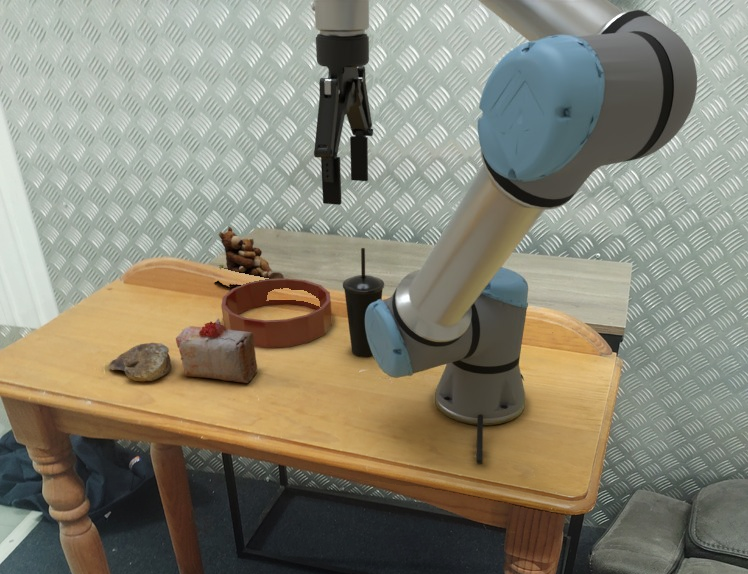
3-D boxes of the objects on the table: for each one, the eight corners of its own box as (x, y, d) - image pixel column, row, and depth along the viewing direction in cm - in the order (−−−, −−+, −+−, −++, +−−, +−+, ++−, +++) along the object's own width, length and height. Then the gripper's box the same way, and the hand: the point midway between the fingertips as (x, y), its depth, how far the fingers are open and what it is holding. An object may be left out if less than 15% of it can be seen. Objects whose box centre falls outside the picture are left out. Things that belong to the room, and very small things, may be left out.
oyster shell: (147, 351, 140) (141, 327, 137) (185, 371, 133) (180, 346, 130) (103, 368, 134) (97, 344, 131) (141, 390, 128) (135, 365, 125)
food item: (176, 379, 131) (166, 329, 125) (196, 359, 137) (187, 310, 131) (246, 388, 128) (239, 337, 122) (262, 367, 134) (257, 318, 128)
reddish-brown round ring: (309, 353, 138) (307, 327, 135) (206, 339, 143) (202, 314, 140) (345, 309, 155) (344, 284, 151) (252, 297, 160) (249, 273, 156)
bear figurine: (254, 297, 160) (248, 242, 153) (205, 284, 166) (196, 230, 159) (291, 278, 169) (287, 225, 162) (243, 265, 175) (237, 214, 168)
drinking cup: (379, 362, 136) (379, 257, 123) (340, 358, 137) (336, 254, 124) (387, 344, 141) (388, 242, 129) (349, 341, 143) (347, 240, 130)
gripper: (345, 23, 110) (348, 170, 124) (283, 41, 92) (295, 212, 105) (391, 24, 109) (390, 173, 122) (338, 43, 90) (343, 216, 103)
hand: (346, 191), depth 113 cm, fingers open, 13 cm apart
